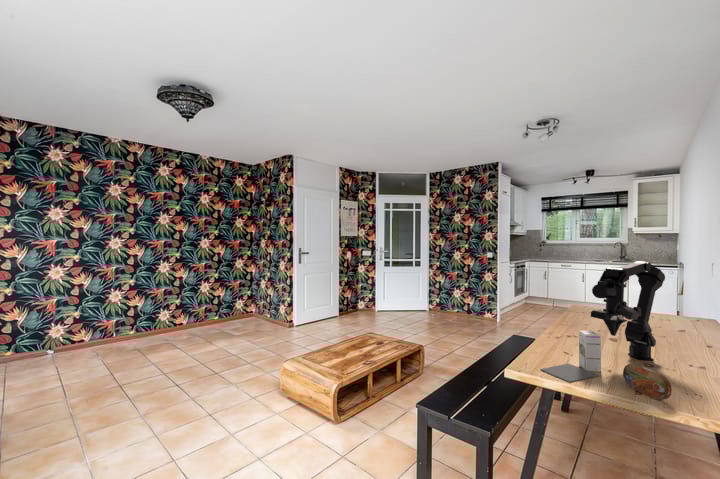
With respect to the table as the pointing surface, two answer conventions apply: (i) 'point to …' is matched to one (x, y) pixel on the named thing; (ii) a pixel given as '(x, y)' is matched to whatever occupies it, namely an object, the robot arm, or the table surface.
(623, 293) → the robot arm
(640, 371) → the tin
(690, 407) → the table surface
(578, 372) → the mat
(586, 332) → the syrup box
